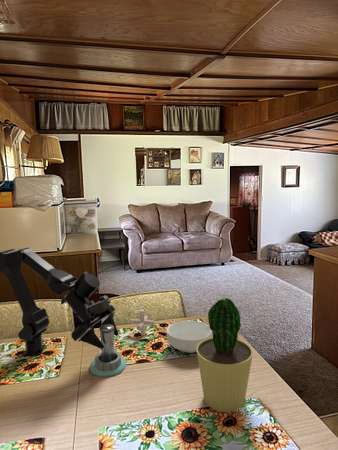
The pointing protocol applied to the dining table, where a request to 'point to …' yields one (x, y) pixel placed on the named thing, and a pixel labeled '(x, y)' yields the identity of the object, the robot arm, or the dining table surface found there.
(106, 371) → the collar
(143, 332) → the pipe connector
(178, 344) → the cereal bowl
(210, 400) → the potted cactus
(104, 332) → the gray tube
